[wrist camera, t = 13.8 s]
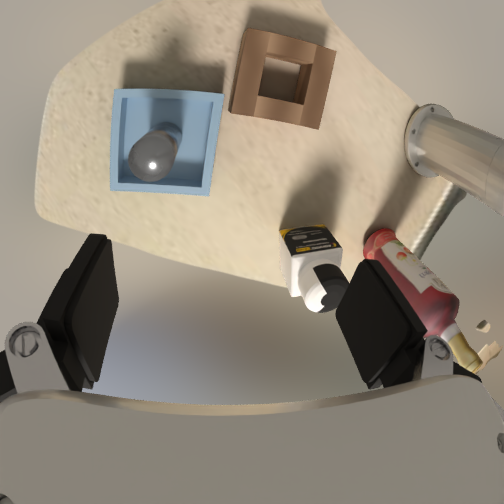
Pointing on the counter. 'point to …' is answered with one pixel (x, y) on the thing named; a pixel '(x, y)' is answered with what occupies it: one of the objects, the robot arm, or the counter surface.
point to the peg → (155, 152)
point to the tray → (157, 111)
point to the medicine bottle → (312, 266)
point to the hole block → (308, 86)
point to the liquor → (422, 293)
